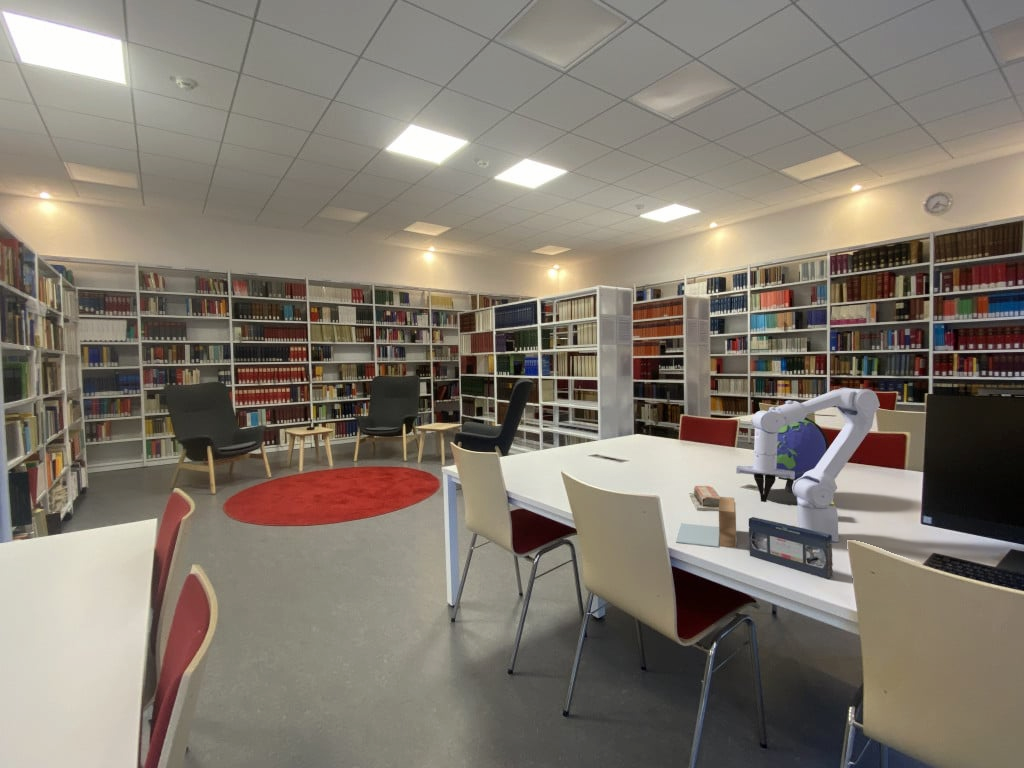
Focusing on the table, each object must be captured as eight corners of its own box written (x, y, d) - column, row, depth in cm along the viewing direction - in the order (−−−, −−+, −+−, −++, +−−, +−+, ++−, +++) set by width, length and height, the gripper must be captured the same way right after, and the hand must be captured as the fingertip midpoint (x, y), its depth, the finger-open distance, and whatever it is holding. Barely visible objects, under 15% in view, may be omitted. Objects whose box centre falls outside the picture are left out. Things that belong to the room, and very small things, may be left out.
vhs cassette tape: (748, 556, 123) (747, 518, 122) (754, 553, 124) (753, 515, 124) (827, 580, 108) (827, 537, 107) (833, 577, 109) (832, 534, 109)
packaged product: (688, 484, 178) (716, 484, 176) (688, 497, 178) (717, 497, 176) (696, 497, 160) (727, 498, 158) (696, 511, 160) (728, 512, 158)
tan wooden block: (736, 531, 140) (735, 497, 140) (736, 548, 128) (735, 511, 127) (720, 529, 142) (719, 496, 142) (719, 546, 130) (718, 510, 129)
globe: (775, 486, 185) (774, 410, 183) (839, 498, 166) (837, 414, 165) (742, 497, 173) (740, 416, 171) (807, 512, 154) (805, 420, 153)
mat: (719, 527, 143) (719, 526, 143) (718, 547, 129) (718, 546, 129) (681, 524, 148) (681, 523, 148) (675, 542, 133) (675, 541, 133)
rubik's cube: (834, 521, 145) (834, 503, 144) (813, 519, 147) (813, 502, 147) (831, 516, 149) (831, 498, 149) (811, 514, 152) (810, 497, 152)
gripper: (793, 453, 134) (791, 501, 134) (737, 448, 140) (735, 494, 141) (796, 457, 127) (794, 507, 128) (736, 452, 134) (735, 500, 134)
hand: (763, 501), depth 134 cm, fingers closed
